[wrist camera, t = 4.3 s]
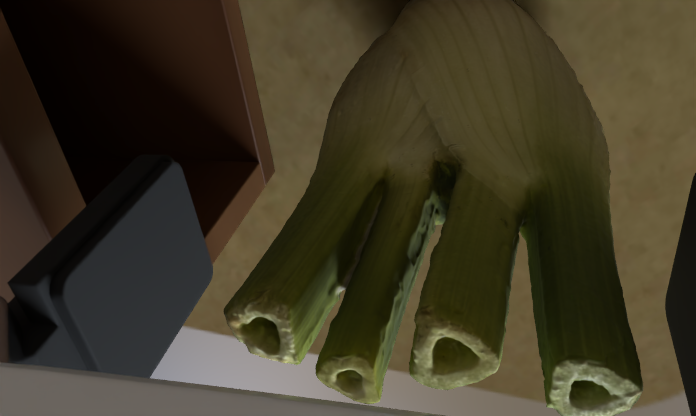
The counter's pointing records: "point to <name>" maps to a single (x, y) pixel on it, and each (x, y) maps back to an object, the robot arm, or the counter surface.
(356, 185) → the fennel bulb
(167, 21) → the shelf
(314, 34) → the counter surface
